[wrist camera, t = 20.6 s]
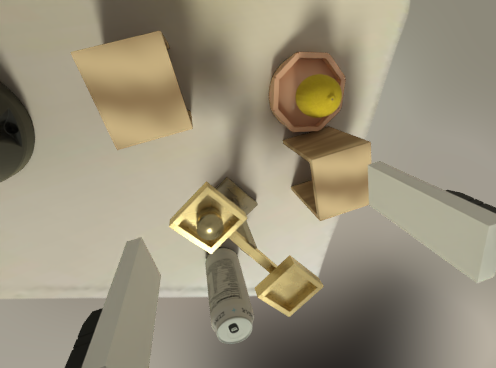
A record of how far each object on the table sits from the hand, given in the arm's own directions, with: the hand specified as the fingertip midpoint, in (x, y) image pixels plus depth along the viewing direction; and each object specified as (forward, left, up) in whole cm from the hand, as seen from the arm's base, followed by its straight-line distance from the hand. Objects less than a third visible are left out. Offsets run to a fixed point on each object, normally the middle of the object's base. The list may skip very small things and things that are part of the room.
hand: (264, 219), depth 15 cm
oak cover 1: (-10, -2, -27) cm, 29 cm away
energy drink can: (+17, -17, -27) cm, 36 cm away
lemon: (+6, +13, -26) cm, 30 cm away
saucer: (+6, +13, -27) cm, 30 cm away
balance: (+10, -7, -27) cm, 29 cm away
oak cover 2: (+15, +7, -27) cm, 31 cm away
